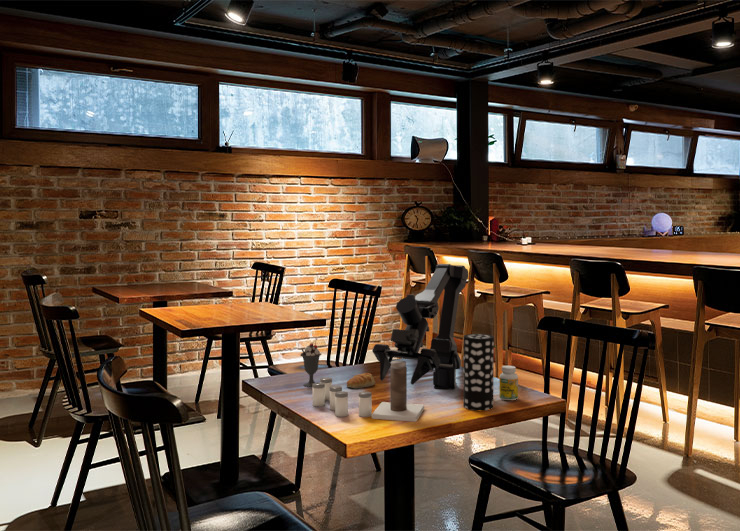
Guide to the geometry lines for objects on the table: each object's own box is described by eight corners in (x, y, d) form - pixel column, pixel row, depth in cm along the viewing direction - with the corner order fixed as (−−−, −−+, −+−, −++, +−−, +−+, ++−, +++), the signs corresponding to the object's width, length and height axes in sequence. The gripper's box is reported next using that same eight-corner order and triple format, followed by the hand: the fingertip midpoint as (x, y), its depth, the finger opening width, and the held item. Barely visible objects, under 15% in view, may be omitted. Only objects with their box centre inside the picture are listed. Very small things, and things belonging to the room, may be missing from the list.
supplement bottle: (518, 397, 193) (519, 365, 192) (516, 402, 188) (517, 369, 187) (500, 396, 194) (501, 364, 194) (497, 400, 189) (498, 368, 189)
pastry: (356, 391, 202) (356, 379, 201) (341, 387, 206) (341, 375, 206) (376, 385, 209) (376, 373, 208) (361, 382, 213) (361, 370, 213)
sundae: (325, 383, 210) (325, 337, 209) (315, 388, 204) (314, 341, 203) (307, 381, 213) (307, 336, 212) (297, 386, 207) (296, 339, 206)
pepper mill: (404, 406, 179) (404, 360, 178) (408, 411, 175) (408, 363, 174) (388, 407, 178) (388, 360, 178) (392, 411, 174) (392, 364, 173)
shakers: (328, 396, 194) (328, 376, 194) (374, 415, 175) (374, 393, 175) (303, 401, 189) (303, 381, 189) (347, 421, 170) (347, 398, 170)
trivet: (423, 408, 181) (423, 404, 181) (416, 421, 169) (416, 417, 169) (382, 406, 184) (382, 401, 184) (371, 418, 172) (371, 414, 172)
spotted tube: (475, 412, 178) (475, 340, 176) (457, 404, 185) (457, 335, 184) (499, 408, 181) (500, 337, 180) (481, 401, 189) (481, 333, 188)
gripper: (375, 315, 183) (355, 361, 174) (436, 320, 174) (418, 368, 165) (388, 338, 190) (370, 383, 182) (447, 344, 181) (431, 392, 172)
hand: (396, 381), depth 175 cm, fingers open, 9 cm apart
